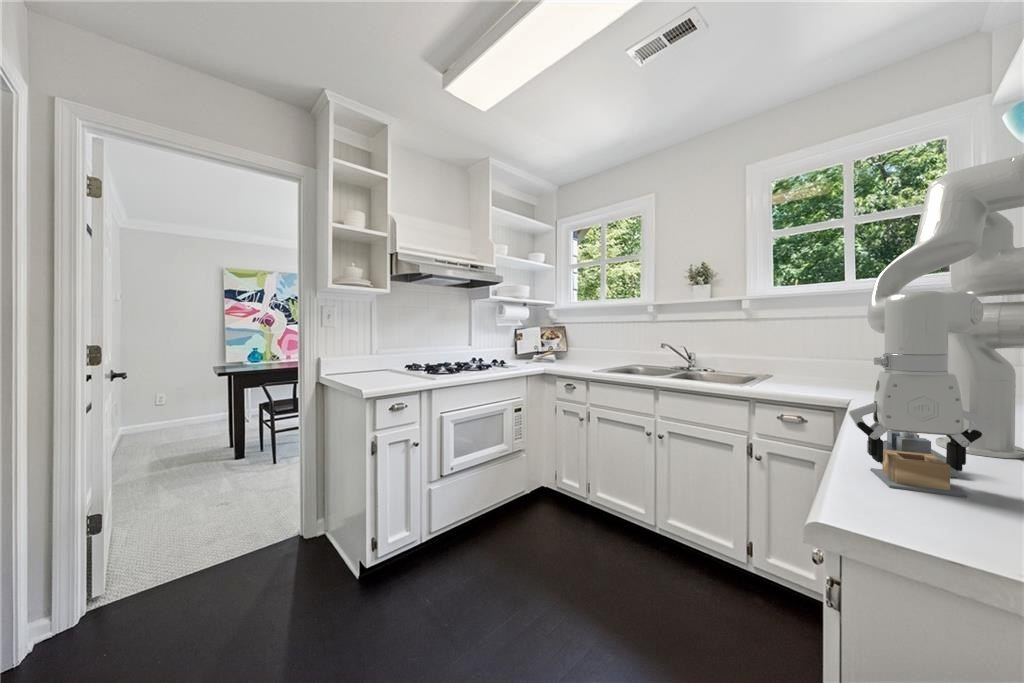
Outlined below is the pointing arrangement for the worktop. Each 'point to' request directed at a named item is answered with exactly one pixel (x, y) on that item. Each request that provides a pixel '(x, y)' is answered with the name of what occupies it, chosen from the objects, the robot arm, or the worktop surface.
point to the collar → (916, 469)
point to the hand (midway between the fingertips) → (914, 464)
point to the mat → (892, 484)
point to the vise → (911, 445)
